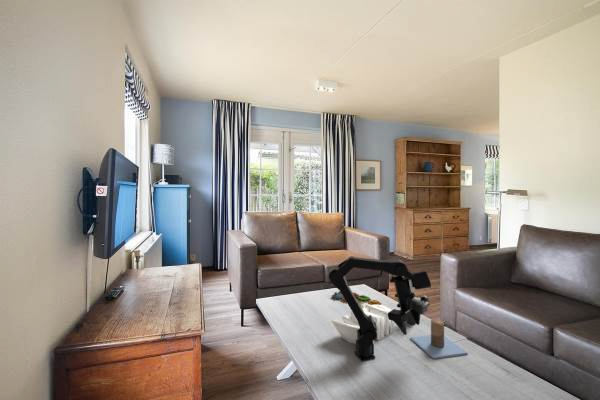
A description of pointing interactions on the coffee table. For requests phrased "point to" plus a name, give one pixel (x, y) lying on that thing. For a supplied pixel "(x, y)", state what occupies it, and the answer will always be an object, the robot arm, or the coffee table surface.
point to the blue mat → (435, 352)
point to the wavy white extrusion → (376, 311)
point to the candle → (409, 314)
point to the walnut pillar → (437, 333)
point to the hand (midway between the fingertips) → (411, 329)
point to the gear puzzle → (360, 299)
